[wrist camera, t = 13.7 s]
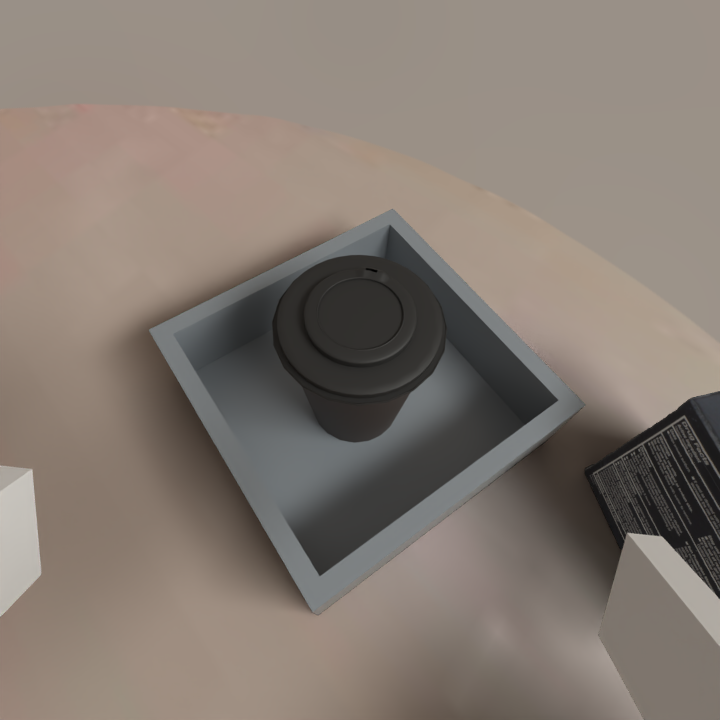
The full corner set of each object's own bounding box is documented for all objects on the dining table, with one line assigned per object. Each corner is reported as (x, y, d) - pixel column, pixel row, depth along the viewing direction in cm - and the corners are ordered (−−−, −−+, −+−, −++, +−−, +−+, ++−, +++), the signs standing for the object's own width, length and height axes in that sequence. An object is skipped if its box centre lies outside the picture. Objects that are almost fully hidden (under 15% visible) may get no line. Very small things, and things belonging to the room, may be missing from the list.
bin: (177, 374, 32) (148, 329, 27) (386, 263, 37) (392, 208, 32) (318, 615, 26) (312, 612, 21) (547, 440, 31) (585, 404, 26)
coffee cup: (396, 332, 33) (415, 225, 24) (439, 444, 29) (481, 366, 20) (277, 361, 32) (252, 259, 23) (307, 482, 28) (291, 416, 19)
